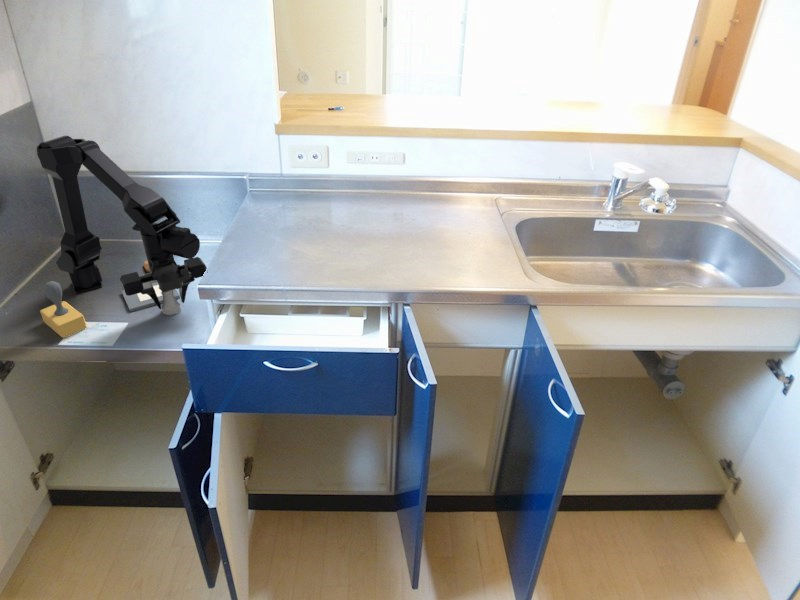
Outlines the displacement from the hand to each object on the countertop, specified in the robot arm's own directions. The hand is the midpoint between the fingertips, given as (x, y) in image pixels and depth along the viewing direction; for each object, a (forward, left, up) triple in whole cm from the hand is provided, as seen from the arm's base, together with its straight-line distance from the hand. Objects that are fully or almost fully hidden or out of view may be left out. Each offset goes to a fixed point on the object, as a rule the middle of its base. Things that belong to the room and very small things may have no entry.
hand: (171, 305), depth 138 cm
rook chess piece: (0, 0, -2) cm, 2 cm away
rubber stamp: (-23, +7, -2) cm, 24 cm away
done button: (0, +19, +1) cm, 19 cm away
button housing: (0, +19, -2) cm, 19 cm away
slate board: (-3, +10, -2) cm, 11 cm away
